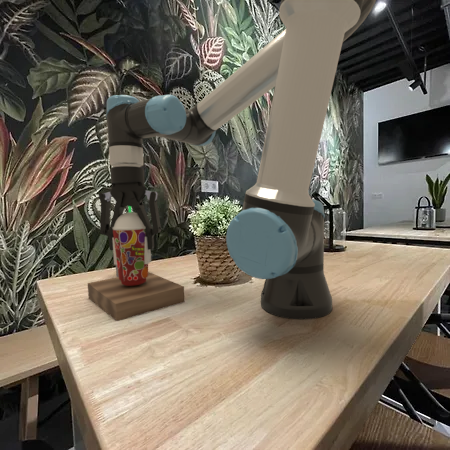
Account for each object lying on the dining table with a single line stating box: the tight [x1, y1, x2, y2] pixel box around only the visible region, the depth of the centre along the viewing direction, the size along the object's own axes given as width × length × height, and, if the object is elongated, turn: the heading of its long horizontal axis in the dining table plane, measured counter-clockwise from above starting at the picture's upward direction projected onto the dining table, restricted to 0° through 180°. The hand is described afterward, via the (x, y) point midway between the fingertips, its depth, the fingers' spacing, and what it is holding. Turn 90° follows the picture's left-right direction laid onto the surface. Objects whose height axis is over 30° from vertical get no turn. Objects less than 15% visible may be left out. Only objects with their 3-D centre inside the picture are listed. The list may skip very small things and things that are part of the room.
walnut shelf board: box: [87, 271, 185, 322], centre depth 70 cm, size 20×16×4 cm
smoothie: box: [112, 206, 149, 286], centre depth 69 cm, size 8×8×20 cm
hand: (132, 262), depth 69 cm, fingers closed on smoothie, 7 cm apart
